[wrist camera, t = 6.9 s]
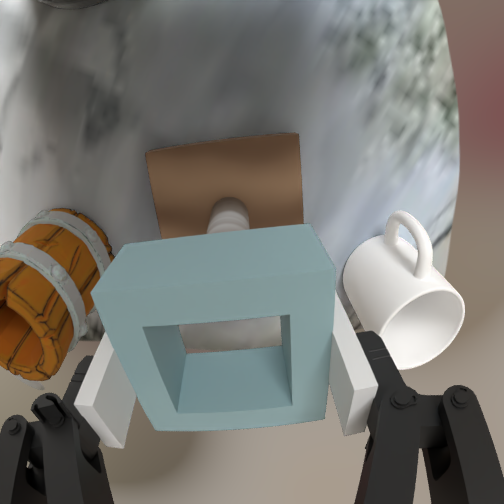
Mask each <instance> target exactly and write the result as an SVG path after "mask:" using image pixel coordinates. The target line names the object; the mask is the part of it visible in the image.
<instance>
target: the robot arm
mask: <svg viewBox="0 0 504 504" xmlns="http://www.w3.org/2000/svg"><path fill="white" fill-rule="evenodd" d="M38 1H40V2H42V3H45V4H48V5H50V6H53V7H56V8H61V9H77V8H84V7H88V6H92V5H96V4H99V3H102V2H104V1H107V0H38ZM329 385H330V388H331V391H332V395H333V398H334V402H335V405H336V409H337V412H338V416H339V419H340V423H341V427H342V430H343V433H344V436H347V435H352V434H357V433H361V432H364V431H365V428H366V425H367V426H368V428H369V431H370V436H369V439H368V442H367V444H366V447H365V449H366V454H365V459H364V464H363V469H362V473H361V478H360V482H359V486H358V491H357V495H356V499H355V503H354V504H413V498H414V491H415V483H416V474H417V464H418V453H419V448H422V451H423V457H424V461H425V467H426V472H427V478H428V484H429V490H430V497H431V504H504V477H503V474H502V470H501V467H500V463H499V460H498V457H497V453H496V450H495V447H494V444H493V441H492V438H491V435H490V432H489V429H488V426H487V423H486V421H485V418H484V415H483V413H482V410H481V407H480V405H479V402H478V400H477V397H476V395H475V394H474V392H473V391H472V390H471V389H469V388H468V387H465V386H462V385H454V386H452V387H449V388H448V389H447V390H446V391H445V392H444V394H443V395H420V394H418V393H417V392H416V391H415V390H413V389H412V388H410V387H407V386H406V384H405V383H404V381H403V379H402V377H401V375H400V373H399V371H398V369H397V367H396V365H395V363H394V361H393V359H392V357H390V353H389V351H388V349H386V346H385V344H384V342H383V340H382V338H381V337H380V336H378V335H377V334H376V333H375V332H374V331H372V330H371V331H366V332H361V333H355V331H354V329H353V327H352V325H351V323H350V321H349V318H348V316H347V314H346V312H345V310H344V308H343V306H342V304H341V301H340V299H339V297H338V295H337V293H336V291H335V308H334V325H333V331H332V345H331V358H330V370H329ZM136 396H137V395H136V393H135V391H134V389H133V387H132V385H131V383H130V381H129V379H128V377H127V375H126V373H125V371H124V369H123V367H122V365H121V363H120V360H119V358H118V356H117V354H116V352H115V350H114V349H113V347H112V345H111V342H110V340H109V338H108V336H107V333H106V331H105V333H104V335H103V338H102V340H101V342H100V344H99V346H98V349H97V351H96V353H95V355H94V356H86V357H85V358H84V359H83V360H82V361H81V362H80V363H79V364H78V366H77V368H76V370H75V374H74V375H73V377H72V379H71V382H70V383H69V386H68V388H67V390H66V393H65V395H64V397H63V400H61V399H60V398H59V397H58V396H57V395H56V394H54V393H45V394H43V395H41V396H39V397H38V398H37V399H35V401H34V402H33V404H32V407H31V411H32V412H33V413H34V414H35V416H36V417H37V418H38V419H39V421H35V422H28V421H27V420H26V419H25V418H24V417H23V416H21V415H13V416H11V417H9V418H8V419H7V420H6V421H5V422H4V425H3V426H2V429H1V433H0V504H114V501H113V498H112V494H111V490H110V487H109V482H108V478H107V473H106V469H105V464H104V459H103V455H102V452H101V450H100V448H99V447H98V445H99V442H100V439H101V441H102V442H103V443H104V444H105V445H106V447H114V448H124V445H125V441H126V436H127V432H128V427H129V424H130V420H131V415H132V412H133V408H134V404H135V399H136ZM27 461H29V462H30V464H29V466H28V468H27V467H26V466H27Z"/></svg>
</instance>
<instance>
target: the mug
mask: <svg viewBox="0 0 504 504" xmlns="http://www.w3.org/2000/svg"><path fill="white" fill-rule="evenodd" d="M111 251H112V248H111V246H110V245H109V244H108V238H107V237H106V235H105V234H104V232H103V231H102V230H101V229H100V228H99V227H98V226H97V225H96V224H95V223H94V222H93V221H91V220H90V219H88V218H87V217H86V216H84V215H83V214H81V213H79V214H77V212H76V211H75V210H73V211H71V210H70V209H66V208H58V209H52V210H49V211H47V210H43V211H41V212H40V213H39V214H38V215H37V216H36V217H35V218H33V219H32V220H31V221H30V222H28V223H27V224H26V225H25V226H24V227H23V229H22V230H21V231H20V233H19V235H18V237H17V239H16V240H15V241H14V242H11V241H8V242H5V243H4V244H3V245H2V246H1V247H0V366H2V367H3V368H5V369H6V370H9V371H10V372H11V373H12V374H14V375H19V374H20V375H21V376H22V377H23V379H27V380H33V381H44V380H48V379H50V378H51V376H52V375H55V374H56V373H57V372H58V370H59V369H60V367H61V365H62V362H63V361H64V359H65V357H66V355H67V353H68V352H70V351H72V350H73V349H74V347H75V346H76V344H77V343H78V341H79V339H80V338H81V336H83V335H85V334H86V333H87V324H86V317H87V315H88V314H90V313H92V312H94V311H95V310H96V306H95V304H94V301H93V299H92V296H91V291H92V290H93V288H94V287H95V285H96V284H97V282H98V281H99V279H100V278H101V276H102V275H103V274H104V272H105V271H106V269H107V268H108V266H109V265H110V264H111V262H112V261H113V259H114V255H112V254H110V252H111Z"/></svg>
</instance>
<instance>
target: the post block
mask: <svg viewBox="0 0 504 504" xmlns="http://www.w3.org/2000/svg"><path fill="white" fill-rule="evenodd" d="M145 156H146V162H147V168H148V173H149V179H150V184H151V189H152V194H153V199H154V204H155V209H156V214H157V219H158V224H159V228H160V233H161V237H162V239H169V238H178V237H186V236H195V235H204V234H213V233H221V232H231V231H240V230H249V229H259V228H268V227H278V226H288V225H298V224H304V221H303V197H302V177H301V160H300V145H299V134H297V133H295V132H294V133H280V134H267V135H256V136H246V137H237V138H228V139H220V140H212V141H205V142H198V143H191V144H184V145H178V146H172V147H166V148H160V149H154V150H149V151H148V152H146V153H145Z"/></svg>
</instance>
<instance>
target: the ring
mask: <svg viewBox="0 0 504 504" xmlns="http://www.w3.org/2000/svg"><path fill="white" fill-rule="evenodd" d="M335 287H336V268H335V266H334V264H333V262H332V261H331V259H330V257H329V255H328V254H327V252H326V250H325V248H324V247H323V245H322V243H321V241H320V240H319V238H318V236H317V235H316V233H315V231H314V230H313V228H312V226H311V224H310V223H308V224H298V225H288V226H278V227H268V228H259V229H249V230H240V231H231V232H221V233H213V234H204V235H195V236H186V237H178V238H169V239H161V240H153V241H145V242H137V243H129V244H124V246H123V247H122V248H121V250H120V251H119V253H118V254H117V255H116V257H115V258H114V259H113V261H112V262H111V264H110V265H109V266H108V268H107V269H106V271H105V272H104V274H103V275H102V276H101V278H100V279H99V281H98V282H97V284H96V285H95V287H94V288H93V290H92V291H91V296H92V299H93V301H94V304H95V306H96V309H97V311H98V314H99V316H100V319H101V321H102V324H103V326H104V329H105V331H106V333H107V336H108V338H109V340H110V342H111V345H112V347H113V349H114V350H115V352H116V354H117V356H118V358H119V360H120V363H121V365H122V367H123V369H124V371H125V373H126V375H127V377H128V379H129V381H130V383H131V385H132V387H133V389H134V391H135V393H136V395H137V398H138V400H139V402H140V404H141V406H142V407H143V409H144V411H145V413H146V415H147V417H148V418H149V420H150V422H151V424H152V425H153V427H154V429H155V430H156V431H217V430H236V429H249V428H261V427H272V426H280V425H289V424H297V423H304V422H310V421H317V420H323V419H325V412H326V404H327V395H328V385H329V370H330V358H331V345H332V331H333V325H334V308H335ZM271 316H280V320H281V337H282V346H274V347H265V348H255V349H245V350H233V351H221V352H207V353H191V354H186V350H185V347H184V344H183V340H182V337H181V334H180V330H179V327H178V325H182V324H196V323H209V322H221V321H232V320H242V319H252V318H262V317H271Z"/></svg>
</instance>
